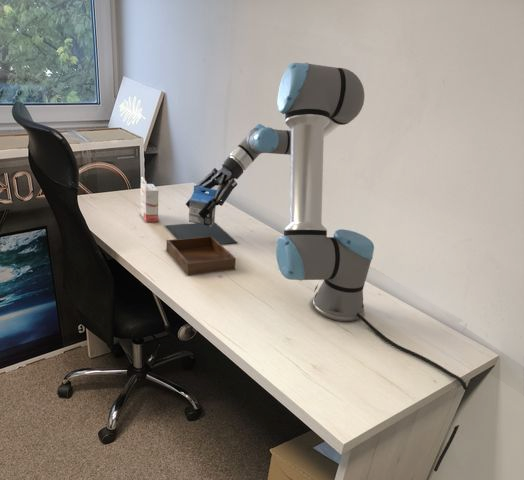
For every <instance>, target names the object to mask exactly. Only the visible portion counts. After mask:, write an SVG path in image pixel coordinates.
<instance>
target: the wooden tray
mask: <svg viewBox="0 0 524 480" xmlns="http://www.w3.org/2000/svg"><path fill="white" fill-rule="evenodd" d="M165 251H166V252H167V254H168V255H169V256H170V257H171V258H172V259H173V260H174V262H175V263H176V264H177V265H178V266H179V267H180V269H181V270H182V271H183V272H184V273H185V275H187V276H193V275H201V274H209V273H217V272H218V273H219V272H224V271H225V272H226V271H233V270H235V269H236V260H237V258H236V257H235V256H234V255H233V254H232V253H230V252H229V251H228V250H227V248H225V247H224V246H223V245H221V244H220V243H219V242H218V241H216V240H215V239H214V238H213V237H212V236H208V237H196V238H184V239H177V238H174V239H173V238H172V239H166V249H165Z"/></svg>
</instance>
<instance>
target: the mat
mask: <svg viewBox="0 0 524 480" xmlns="http://www.w3.org/2000/svg"><path fill="white" fill-rule="evenodd" d="M165 228H167V230H168V231H169V232H170V233H171V234H172V235H173V236H174V237H175V239H184V238H196V237H208V236H212V237H213V238H214V239H215V240H216V241H218V242H219V243H220V244H221V245H222V246H223V245H231V244H233V245H234V244H237V243H238V242H237V241H236V240H235V239H234V238H233V237H232V236H230V235H229V234H228V233H227V232H226V231H225V230H224V229H222V228H221V227H220V226H219V225H218V224H217V223H216V222H214V224H213V226H212V227H210V226H206V225H202V224H197V223H182V224H168V225H165Z"/></svg>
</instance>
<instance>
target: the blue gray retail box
mask: <svg viewBox="0 0 524 480" xmlns="http://www.w3.org/2000/svg"><path fill="white" fill-rule="evenodd" d="M204 190H206V192H205V193H204V192H201V191H204ZM216 191H217V189H213V188H211V189H209V188H204V187H200V186H196V185H194V186H193V191H192V194H191V197H190V198H189V199H190V205H189V207H188V222H189V223H192V224H194V223H197V224H202V225H206V226H210V227H212V226H213V224H214V223H215V220H216V209H217V207H216V206H217V205H216V206H215V208H214V209H213V210H212V211H211V212H209V214H208V215H207V216H206V217H205V218H204V219H203V218H202V217H201V216H200V215H199V214H198V213H199V212H200V211H201V210H202V209H203V207H204V206H205V205H206V204H207V203H208V202H209V201H210V200H212V199H211V198H214V196H215V193H216Z"/></svg>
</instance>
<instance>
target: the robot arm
mask: <svg viewBox="0 0 524 480" xmlns="http://www.w3.org/2000/svg"><path fill="white" fill-rule="evenodd" d="M276 101H277V104H276V105H277V110H278V112H279V113H281V114H282V115H284V124H285V125H286V126H287V127H288V128H289V129H290V130H288V129H286V130H285V129H277V128H275V129H274V128H273V127H269V126H265V125H263V124H261V123H257V124H255V126H253V128H251V129H250V130H249V132H248V133H247V135H246V136H245V137H244V138H243V139H242V140H241V142H240V143H239V144H238V145H237V146H236V147H235V148H234V149H233V150H232V151H231V153H230V154H229V156H227V157H226V158H225V159H224V160H223V162H222V163H221V166H222V167H221V168H220V169H219V170H218V169H217V168H216V167H214V168H213V169H212V170H211V171H210V172H209V173H208V174H207V175H206V176H205V177H204V178H202V179H201V180H200V181H199V182H198V183H197V184H196V185H195V186H200V187H204V188H209V189H213V188H214V187H216V186H217V189H216V190H217V191H216V193H215V196H214V198H211V199H212V200H210V201H209V202H208V203H207V204H206V205H205V206H204V207H203V209H202V210H201V211H200V212H199V213H198V214H199V215H200V216H201V217H202V218H203V219H204V218H205V217H206V216H207V215H208V214H209V212H211V211H212V210H213V209H214V208H215V206H221V207H222V206H223V205H224V204H225V202H227V201H226V200H227V199H228V198H229V196H230V195H231V193H232V192H233V190H234V189H235V187H237V186H238V182H237V181H236V180H238V179H239V178H240V177H241V176H242V175H243V174H244V171H246V170H247V169H248V168H249V167H250V166H251V165H252V163H254V162H255V160H256V159H257V158H258V157H259V156H260V155H262V154H274V155H286V156H287V155H288V156H290V166H289V167H290V169H289V172H290V174H289V177H290V178H289V185H290V186H289V223H288V225H287V226H286V227H285V228H284V229H283V235H282V236H279V237H278V238H277V241H276V247H275V255H276V262H277V266H278V269H279V271H280V274H281V275H282V276H283V277H284V278H285V279H287V280H290V281H291V280H292V281H301V282H302V281H322V283H321V285H320V286H319V284H317V285H316V286H315V288H314V291H313V292H314V293H315V292H316V290H317V289H318V286H319V289H318V290H317V292H316V293H315V294H314V296H313V299H312V308H313V309H314V310H315V312H317V313H318V314H319V315H321V316H322V317H325V318H327V319H330V320H333V321H336V322H345V323H347V322H354V321H357V320H361V321H362V322H363V323H364V324H365V325H366V326H367V327H368V328H370V329H371V330H372V331H373V332H374V333H375V334H376V335H378V336H379V337H380V338H381V339H383V341H385V342H386V343H388V344H389V345H391V346H393V347H395V349H398V350H400V351H402V352H404V353H406V354H409V355H412V356H413V357H416V358H418V359H420V360H422V361H424V362H426V363H428V364H430V365H431V366H433V367H435V368H436V369H438V370H440V371H442V372H443V373H445V374H446V375H448V376H450V377H451V378H453V379H455V380H457V381H458V382H459V383H460V385H461V386H462V389H463V390H465V391H468V387H467V384H466V382H465V381H464V379H462V378H461V377H460V376H459V375H457V374H455V373H453V372H451V371H449V370H448V369H446V368H445V367H443V366H442V365H440V364H438V363H436V362H434V361H433V360H431V359H429V358H428V357H425V356H423V355H421V354H419V353H417V352H415V351H412V350H410V349H408V348H406V347H403V346H401V345H399V344H397V343H396V342H394V341H393V340H391V339H390V338H388V337H387V336H385V335H384V334H383V333H381V331H379V330H378V329H377V328H376V327H375V326H373V325H372V323H370V322H369V321H368V320H367V319H366V318H364V316H363V314H364V309H365V308H364V307H365V305H364V288H365V284H366V280H367V278H368V277H367V276H368V273H369V270H370V267H371V263H372V260H373V256H374V251H375V244H374V243H373V241H372V240H371V239H370V238H369V237H367V236H366V235H363V234H361V233H358V232H357V231H353V230H349V229H337V230H335V231H334V233H333V236H328V229H327V228H326V227H325V225H324V224H323V223H322V218H323V217H322V216H323V181H324V179H323V178H324V144H325V143H324V142H325V140H324V139H325V138H326V137H327V136H328V135H330V133H332V132H333V131H334V130H336V129H337V128H339V127H340V126H345V125H347V124H349V123H351V122H352V121H353V120H355V119H356V118H357V117H358V116H359V114H360V113H361V112H362V109H363V107H364V104H365V103H364V102H365V88H364V84H363V83H362V81H361V79H360V78H359V76H358V75H356V73H355V72H353V71H351V70H350V69H348V68H345V67H344V68H343V67H334V66H327V65H320V64H314V63H309V62H293V63H291V64H289V65H288V66H287V68H286V69H285V71H284V73H283V75H282V77H281V80H280V84H279V88H278V92H277V100H276ZM201 192H204V193H207V191H206V190H204V191H201ZM189 205H190V198H189V199H188V200H187V201H186V203H185V206H186V207H187V208H189ZM215 209H216V208H215ZM459 427H460V424H458V425H455V426H454V427H453V430H452V433H451V434H450V437H449V438H448V440H447V442H446V444H445V446H444V448H443V450H442V452H441V454H440V456H439V457H438V460H437V462H436V464H435V465H434V468H433V471H434V472H438V470H439V468H440V466H441V464H442V461H443V459H444V457H445V456H446V454H447V452H448V450H449V448H450V446H451V445H452V443H453V441H454V438H455V436H456V434H457V432H458V429H459Z"/></svg>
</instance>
